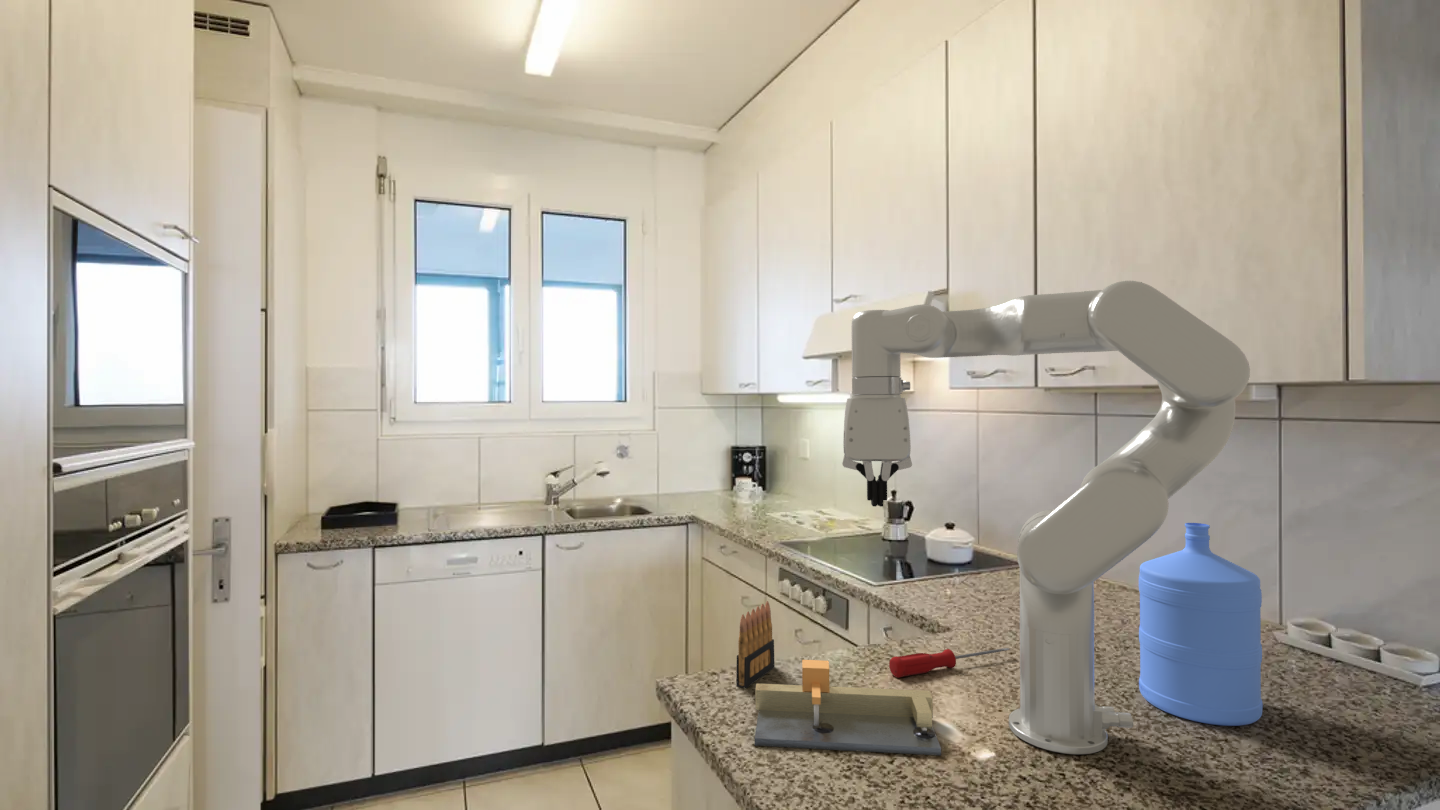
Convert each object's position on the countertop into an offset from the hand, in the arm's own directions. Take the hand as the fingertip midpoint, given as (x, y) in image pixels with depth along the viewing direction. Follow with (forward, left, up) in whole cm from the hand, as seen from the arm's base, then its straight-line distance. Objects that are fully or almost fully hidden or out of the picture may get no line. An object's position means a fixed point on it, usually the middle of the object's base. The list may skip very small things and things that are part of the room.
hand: (877, 505), depth 108 cm
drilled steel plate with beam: (+6, +9, -31) cm, 33 cm away
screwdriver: (-15, -16, -31) cm, 38 cm away
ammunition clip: (+20, -8, -31) cm, 38 cm away
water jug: (-49, -4, -31) cm, 58 cm away
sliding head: (+10, +9, -30) cm, 32 cm away
